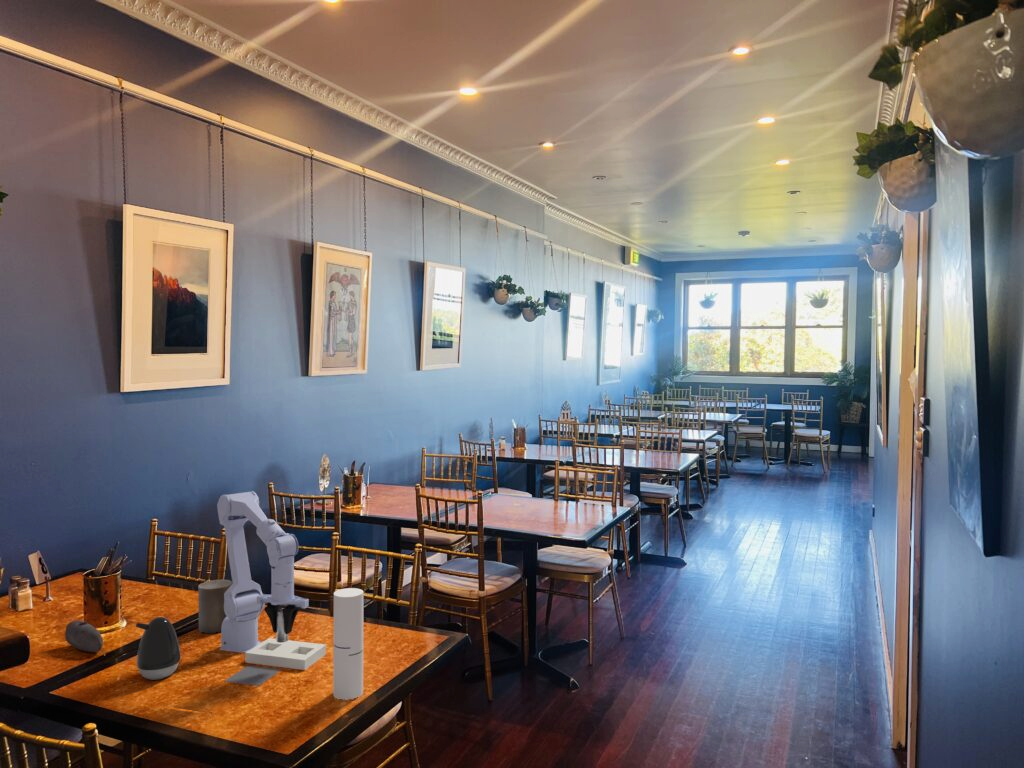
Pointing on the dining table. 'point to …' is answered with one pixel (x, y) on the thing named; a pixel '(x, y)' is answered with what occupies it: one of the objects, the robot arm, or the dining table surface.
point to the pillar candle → (212, 605)
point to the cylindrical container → (348, 643)
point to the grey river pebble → (83, 636)
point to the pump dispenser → (158, 649)
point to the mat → (253, 675)
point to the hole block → (286, 654)
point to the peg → (280, 627)
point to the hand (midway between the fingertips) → (282, 632)
